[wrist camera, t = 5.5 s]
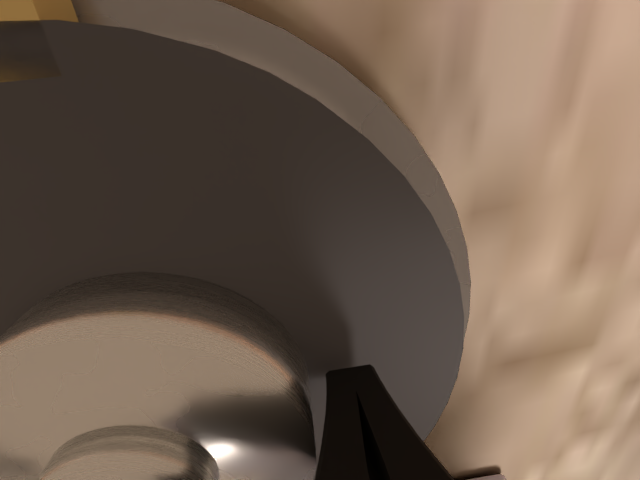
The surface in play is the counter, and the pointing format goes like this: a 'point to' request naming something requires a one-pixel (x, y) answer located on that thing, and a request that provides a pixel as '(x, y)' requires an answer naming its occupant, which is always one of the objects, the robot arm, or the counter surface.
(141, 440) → the cover
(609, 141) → the counter surface
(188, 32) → the base
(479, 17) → the counter surface
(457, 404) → the counter surface
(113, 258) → the turntable
